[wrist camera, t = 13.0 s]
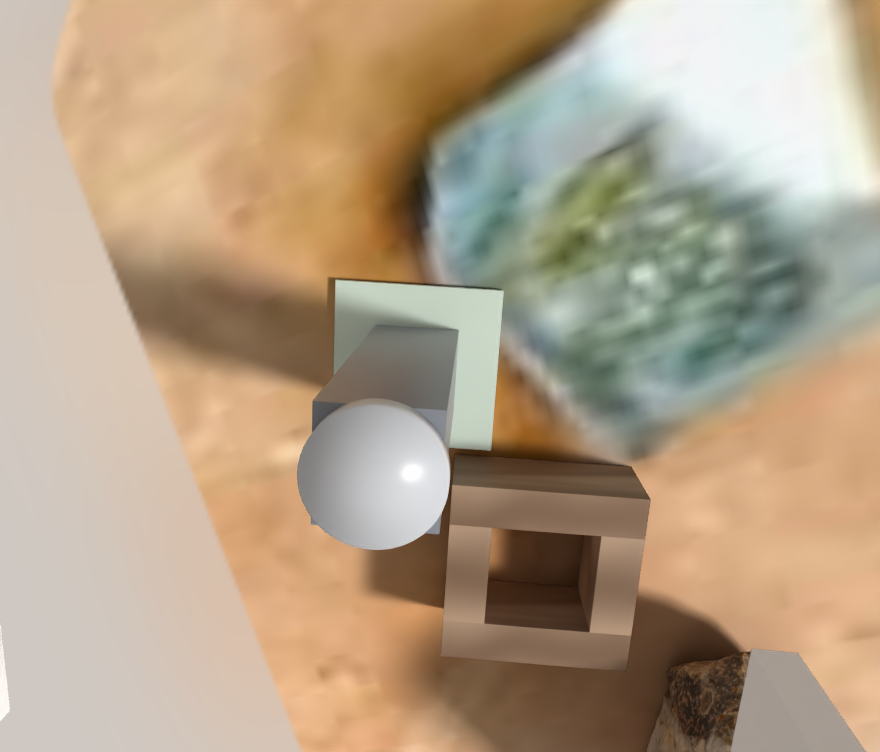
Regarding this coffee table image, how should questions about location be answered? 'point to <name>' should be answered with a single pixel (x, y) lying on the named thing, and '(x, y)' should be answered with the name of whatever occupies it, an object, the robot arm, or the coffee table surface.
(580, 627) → the brown square frame
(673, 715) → the rock
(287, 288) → the coffee table surface
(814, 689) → the robot arm
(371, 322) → the mat
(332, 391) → the plug
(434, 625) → the coffee table surface
